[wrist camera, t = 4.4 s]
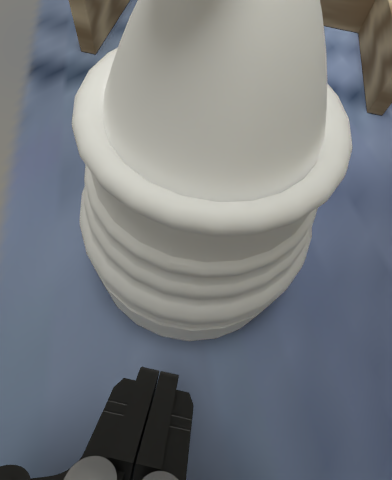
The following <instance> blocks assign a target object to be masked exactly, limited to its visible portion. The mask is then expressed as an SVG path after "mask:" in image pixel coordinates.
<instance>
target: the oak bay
mask: <svg viewBox="0 0 392 480" xmlns="http://www.w3.org/2000/svg"><path fill="white" fill-rule="evenodd" d="M129 1H130V0H69V3H70V7H71V11H72V16H73V20H74V24H75V28H76V32H77V36H78V40H79V44H80V48H81V51H83V52H87V53H92V54H96V53H97V51H98V50H99V48H100V46H101V45H102V43H103V42H104V40H105V39H106V37H107V35H108V34H109V32H110V31H111V29H112V28H113V26H114V24H115V23H116V21H117V20H118V18H119V17H120V15H121V13H122V12H123V10H124V9H125V7H126V5H127V4H128V2H129ZM320 4H321V9H322V16H323V25H324V26H328V27H333V28H338V29H342V30H347V31H352V32H357V33H358V34H359V43H360V52H361V61H362V70H363V79H364V88H365V97H366V106H367V112H368V113H373V114H377V115H383V114H384V112H385V111H386V110H387V108H388V107H389V106H390V104H391V103H392V0H320Z"/></svg>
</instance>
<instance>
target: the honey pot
mask: <svg viewBox="0 0 392 480" xmlns="http://www.w3.org/2000/svg"><path fill="white" fill-rule="evenodd" d="M72 129H73V132H74V136H75V140H76V143H77V147H78V151H79V154H80V157H81V158H82V160H83V161H84V163H85V164H86V167H85V188H84V190H83V193H82V200H81V211H80V228H81V232H82V236H83V240H84V244H85V248H86V253H87V255H88V257H89V258H90V260H91V262H92V264H93V266H94V268H95V270H96V271H97V273H98V275H99V277H100V279H101V280H102V282H103V284H104V286H105V287H106V289H107V291H108V292H109V294H110V296H111V297H112V299H113V301H114V302H115V304H116V306H117V307H118V308H119V309H120V310H121V311H123V312H124V313H125V314H126V315H127V316H128V317H129V318H130V319H131V320H133V321H134V322H135V323H136V324H137V325H139V326H141V327H143V328H145V329H148V330H150V331H152V332H154V333H156V334H158V335H160V336H163V337H169V338H174V339H180V340H185V341H194V340H205V339H215V338H218V337H221V336H223V335H226V334H228V333H231V332H233V331H236V330H239V329H240V328H242V327H243V326H244V325H246V324H247V323H248V322H249V321H251V320H252V319H253V318H255V317H256V316H257V315H259V314H260V313H261V312H262V311H263V310H264V309H265V308H267V307H268V306H269V305H270V304H271V303H272V302H273V301H275V300H276V298H278V297H279V296H280V295H281V294H282V293H283V292H285V291H286V290H287V288H288V287H289V285H290V284H291V282H292V281H293V279H294V278H295V276H296V275H297V274H298V272H299V271H300V269H301V268H302V266H303V264H304V261H305V258H306V254H307V251H308V247H309V244H310V241H311V237H312V224H313V222H314V219H315V215H316V212H317V208H318V207H319V206H321V205H322V204H324V203H325V202H327V200H328V199H329V197H330V196H331V195H332V193H333V192H334V191H335V189H336V188H337V187H338V185H339V184H340V182H341V181H342V180H343V178H344V177H345V174H346V171H347V167H348V163H349V159H350V156H351V152H352V140H351V132H350V124H349V118H348V116H347V114H346V112H345V110H344V108H343V106H342V104H341V102H340V99H339V97H338V95H337V94H336V93H335V92H334V91H333V90H332V88H331V87H330V86H329V85H328V84H327V62H326V46H325V35H324V25H323V16H322V9H321V4H320V0H138V1H137V3H136V6H135V8H134V10H133V12H132V14H131V16H130V18H129V21H128V23H127V26H126V28H125V31H124V33H123V36H122V38H121V40H120V43H119V46H118V48H116V49H114V50H113V51H111V52H109V53H107V54H106V55H105V56H104V57H103V58H102V59H101V60H100V61H99V62H98V63H97V64H96V65H95V66H93V67H92V68H91V69H90V70H89V72H88V73H87V75H86V77H85V79H84V81H83V83H82V85H81V86H80V88H79V90H78V92H77V94H76V96H75V101H74V110H73V118H72Z"/></svg>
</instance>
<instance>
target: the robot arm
mask: <svg viewBox="0 0 392 480" xmlns="http://www.w3.org/2000/svg"><path fill="white" fill-rule="evenodd" d="M158 376H159V371H158V370H154V369H149V368H145V367H141V368H140V371H139V373H138V376H137V379H136V381H135V380H130V379H126V378H123V379H122V380H121V381H120V382H119V383H118V384H117V385H116V386H115V387H114V388H113V390H112V392H111V395H110V397H109V399H108V402H107V403H106V406H105V408H104V410H103V412H102V414H101V417H100V419H99V421H98V423H97V425H96V428H95V430H94V432H93V434H92V437H91V439H90V441H89V443H88V445H87V448H86V450H85V452H84V454H83V456H82V457H81V459H80V460H79V461H78V462H77V463H76V464H74V465H73V466H72V467H71V468H70V469H69V470H67V471H65V472H63V473H61V474H58V475H54V476H48V477H40V478H33V479H30V476H29V474H28V472H27V471H26V470H25V469H24V468H22V467H21V466H17V465H5V466H1V467H0V480H186V471H187V462H188V452H189V443H190V432H191V424H192V415H193V403H192V400H191V397H190V394H189V393H188V392H183V391H179V390H176V388H177V382H178V377H179V375H176V374H172V373H167V372H163V371H161V372H160V376H159V379H158ZM157 380H158V383H157ZM156 385H157V387H156Z"/></svg>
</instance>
